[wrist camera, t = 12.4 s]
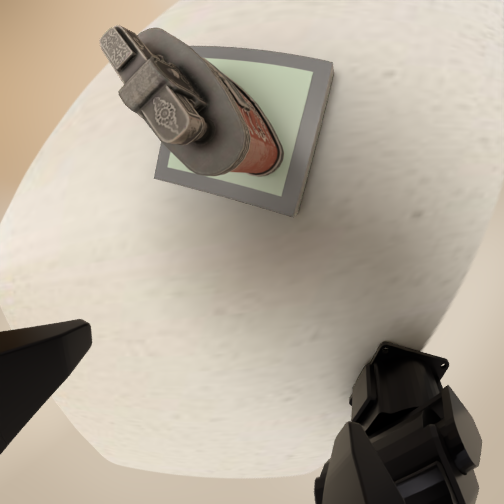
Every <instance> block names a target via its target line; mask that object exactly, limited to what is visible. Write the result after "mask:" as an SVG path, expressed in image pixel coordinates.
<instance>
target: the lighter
mask: <svg viewBox="0 0 504 504" xmlns="http://www.w3.org/2000/svg"><path fill="white" fill-rule="evenodd" d="M100 47H101V49H102V51H103V52H104V54H105V56H106V57H107V59H108V60H109V62H110V63H111V65H112V67H113V68H114V70H115V71H116V73H117V74H118V76H119V77H120V79H121V80H122V82H123V83H124V86H123V87H122V88H121V89H120V90H119V96H120V98H121V99H122V101H123V102H124V104H125V105H126V106H127V107H128V108H129V109H131V110H132V111H134V112H135V113H137V114H138V115H139V116H140V117H142V118H143V119H144V120H145V121H146V123H147V124H148V125H149V127H150V128H151V129H152V130H153V132H154V133H155V134H156V136H157V137H158V138H159V139H160V141H161V142H162V143H163V145H164V146H165V147H166V148H167V149H168V150H169V151H170V152H171V153H173V154H174V155H175V156H176V157H177V158H178V159H179V160H180V161H181V162H182V163H183V164H184V165H185V166H186V167H187V168H188V169H189V170H190V171H192V172H193V173H195V174H197V175H202V176H219V175H224V174H227V173H229V172H242V173H247V174H248V175H251V176H257V177H261V176H267V175H269V174H271V173H273V172H275V171H276V170H277V169H278V168H279V167H280V165H281V163H282V161H283V158H284V150H283V146H282V144H281V142H280V140H279V138H278V136H277V134H276V132H275V130H274V128H273V126H272V124H271V123H270V121H269V120H268V118H267V117H266V115H265V114H264V112H263V111H262V110H261V108H260V107H259V105H258V104H257V103H256V102H255V101H254V100H253V99H252V98H251V97H250V96H249V94H248V93H247V92H246V91H245V90H244V89H243V88H242V87H240V86H239V85H238V84H237V83H236V82H234V81H233V80H232V79H230V78H229V77H228V76H226V75H225V74H223V73H222V72H221V71H220V70H219V69H217V68H216V67H215V66H214V65H213V64H211V63H210V62H209V61H207V60H206V59H205V58H201V57H200V56H199V55H198V54H197V53H196V52H195V51H194V50H193V49H192V48H191V47H189V46H188V45H186V44H185V43H184V42H182V41H181V40H179V39H177V38H176V37H174V36H172V35H171V34H169V33H168V32H166V31H164V30H163V29H160V28H151V29H147V30H145V31H143V32H141V33H140V34H138V35H136V34H135V33H133V32H131V31H130V30H128V29H126V28H124V27H122V26H120V25H116V26H114V27H111V28H109V29H108V30H107V31H106V32H105V34H104V35H103V36H102V37H101V39H100Z"/></svg>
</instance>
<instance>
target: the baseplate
mask: <svg viewBox="0 0 504 504" xmlns="http://www.w3.org/2000/svg"><path fill="white" fill-rule="evenodd" d="M189 47H191V48H192V49H193V50H194V51H195V52H196V53H197V54H198V55H199V56H200V57H201V58H205V59H206V60H207V61H209V62H210V63H211V64H213V65H214V66H215V67H216V68H217V69H219V70H220V71H221V72H222V73H223V74H225V75H226V76H228V77H229V78H230V79H232V80H233V81H234V82H236V83H237V84H238V85H239V86H240V87H242V88H243V89H244V90H245V91H246V92H247V93H248V94H249V96H250V97H251V98H252V99H253V100H254V101H255V102H256V103H257V104H258V105H259V107H260V108H261V110H262V111H263V112H264V114H265V115H266V117H267V118H268V120H269V121H270V123H271V124H272V126H273V128H274V130H275V132H276V134H277V136H278V138H279V140H280V142H281V144H282V146H283V150H284V158H283V161H282V163H281V165H280V167H279V168H278V169H277V170H276V171H275V172H273V173H271V174H269V175H267V176H261V177H257V176H251V175H248V174H247V173H242V172H229V173H227V174H224V175H219V176H202V175H197V174H195V173H193V172H192V171H190V170H189V169H188V168H187V167H186V166H185V165H184V164H183V163H182V162H181V161H180V160H179V159H178V158H177V157H176V156H175V155H174V154H173V153H171V152H170V151H169V150H168V149H167V148H166V147H165V146H164V145H163V143H162V142H161V146H160V151H159V155H158V160H157V165H156V170H155V176H154V179H158V180H162V181H166V182H170V183H173V184H177V185H181V186H185V187H189V188H193V189H196V190H200V191H204V192H207V193H211V194H215V195H218V196H222V197H226V198H229V199H233V200H236V201H240V202H243V203H247V204H250V205H254V206H257V207H260V208H264V209H267V210H271V211H274V212H277V213H281V214H284V215H287V216H290V217H294V216H295V215H297V214H298V211H299V207H300V203H301V200H302V196H303V193H304V189H305V185H306V182H307V178H308V174H309V170H310V167H311V163H312V159H313V155H314V152H315V148H316V144H317V140H318V136H319V132H320V128H321V124H322V120H323V116H324V112H325V108H326V104H327V100H328V96H329V92H330V87H331V83H332V79H333V75H334V69H333V62H329V61H325V60H320V59H315V58H310V57H305V56H299V55H293V54H287V53H281V52H273V51H266V50H257V49H247V48H235V47H218V46H189Z"/></svg>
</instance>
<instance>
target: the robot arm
mask: <svg viewBox="0 0 504 504" xmlns="http://www.w3.org/2000/svg"><path fill="white" fill-rule="evenodd" d="M91 345H92V334H91V326H90V324H89V323H88V322H86V321H84V320H82V319H77V320H71V321H66V322H60V323H54V324H48V325H41V326H35V327H29V328H22V329H16V330H9V331H2V332H0V454H1V453H2V452H3V451H4V449H5V448H6V447H7V446H8V445H9V443H10V442H11V441H12V440H13V438H14V437H15V436H16V435H17V434H18V433H19V432H20V430H21V429H22V428H23V427H24V426H25V425H26V423H27V422H28V421H29V420H30V419H31V418H32V417H33V415H34V414H35V413H36V412H37V411H38V410H39V409H40V408H41V406H42V405H43V404H44V403H45V402H46V401H47V400H48V399H49V397H50V396H51V395H52V394H53V393H54V392H55V391H56V390H57V389H58V388H59V386H60V385H61V384H62V383H63V382H64V381H65V380H66V379H67V378H68V376H69V375H70V374H71V373H72V371H73V370H74V369H75V367H76V366H77V365H78V363H79V362H80V361H81V359H82V358H83V357H84V355H85V354H86V353H87V351H88V350H89V349H90V347H91ZM384 348H388V349H387V350H383V349H384ZM442 364H445V365H444V366H441V365H442ZM448 367H449V362H448V360H447V359H445V358H441V357H438V356H434V355H431V354H427V353H423V352H420V351H416V350H413V349H409V348H406V347H402V346H399V345H396V344H392V343H389V342H383V343H382V344H380V346H379V347H378V349H377V351H376V353H375V355H374V357H373V359H372V361H371V362H370V364H367V365H365V367H364V369H363V370H362V372H361V374H360V376H359V378H358V379H357V381H356V383H355V384H354V386H353V390H352V395H351V397H350V399H349V404H350V405H351V406H352V419H351V421H352V422H351V421H349V422H347V423H346V424H345V425H344V427H343V428H342V429H341V431H340V432H339V434H338V435H337V437H336V439H335V442H334V446H333V450H332V455H331V458H330V459H329V460H328V461H327V462H326V463H325V465H324V467H323V470H322V472H321V475H320V477H317V478H316V480H315V485H314V496H315V503H316V504H475V501H476V498H477V495H478V490H479V485H478V482H477V479H476V476H475V473H474V470H473V469H474V468H476V467H478V466H479V462H480V455H481V447H482V439H481V437H480V434H479V432H478V429H477V427H476V425H475V422H474V420H473V418H472V416H471V415H470V414H469V412H468V411H467V409H466V408H465V407H464V405H463V404H462V403H461V401H460V400H459V398H458V397H457V396H456V394H455V393H454V392H453V391H452V389H451V388H450V387H449V385H447V386H446V387H445V388H443V387H442V385H441V382H440V380H441V378H442V377H443V375H444V373H445V372H446V370H447V369H448Z"/></svg>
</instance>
